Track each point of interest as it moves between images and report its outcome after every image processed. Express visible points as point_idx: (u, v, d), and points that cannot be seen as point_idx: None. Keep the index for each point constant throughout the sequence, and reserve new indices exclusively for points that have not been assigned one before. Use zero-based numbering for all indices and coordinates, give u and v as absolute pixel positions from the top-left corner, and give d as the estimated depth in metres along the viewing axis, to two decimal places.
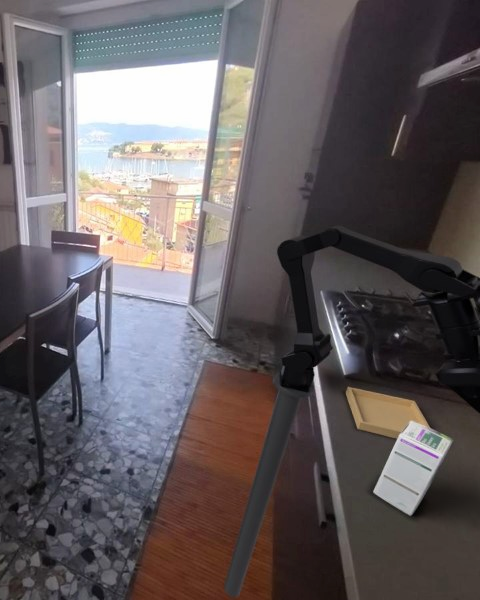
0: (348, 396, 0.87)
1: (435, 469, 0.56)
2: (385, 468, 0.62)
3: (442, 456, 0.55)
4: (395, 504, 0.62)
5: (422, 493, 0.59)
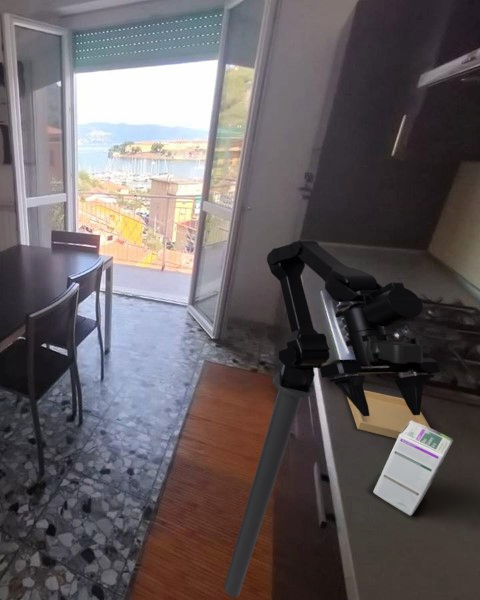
0: None
1: (435, 469, 0.56)
2: (385, 468, 0.62)
3: (442, 456, 0.55)
4: (395, 504, 0.62)
5: (422, 493, 0.59)
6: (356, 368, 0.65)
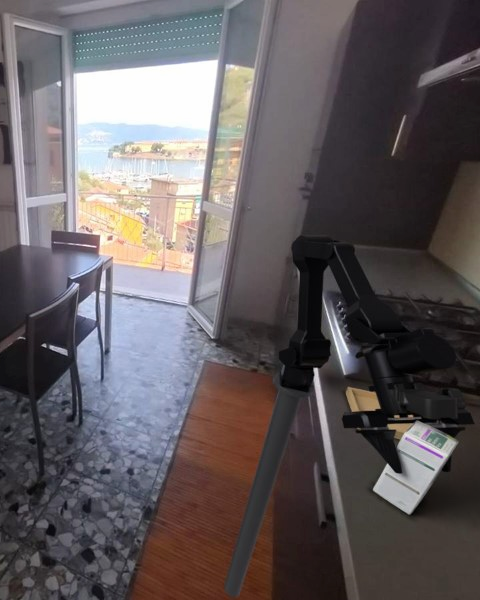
0: (348, 396, 0.87)
1: (438, 469, 0.56)
2: (387, 466, 0.62)
3: (447, 456, 0.55)
4: (394, 502, 0.62)
5: (423, 492, 0.58)
6: (383, 421, 0.59)
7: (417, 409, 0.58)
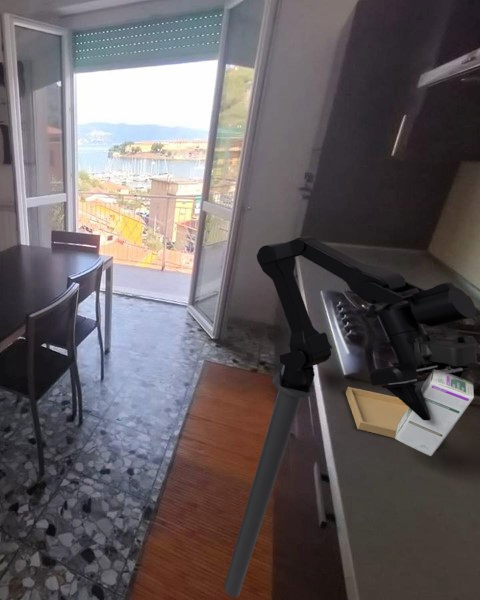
0: (348, 396, 0.87)
1: (463, 411, 0.61)
2: (411, 414, 0.66)
3: (472, 398, 0.59)
4: (417, 447, 0.67)
5: (446, 434, 0.63)
6: (413, 373, 0.63)
7: (443, 358, 0.61)
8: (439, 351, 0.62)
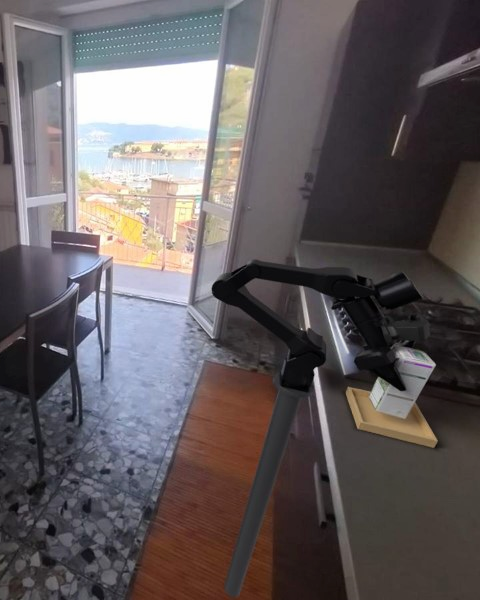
0: (348, 396, 0.87)
1: (428, 377, 0.73)
2: (388, 388, 0.76)
3: (435, 365, 0.72)
4: (394, 414, 0.78)
5: (416, 398, 0.75)
6: (392, 354, 0.72)
7: (409, 337, 0.72)
8: (405, 331, 0.73)
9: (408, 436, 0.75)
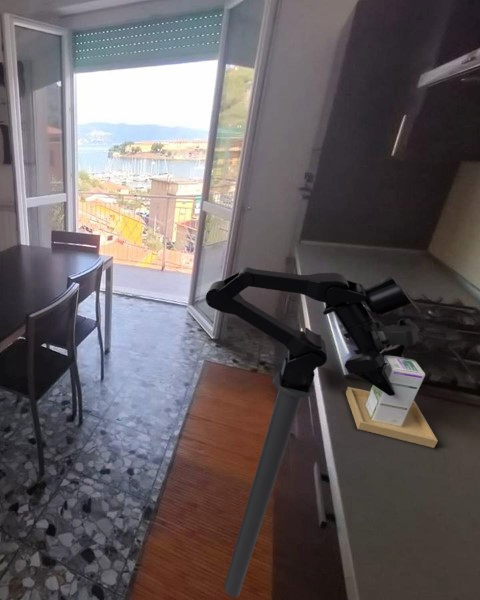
0: (348, 396, 0.87)
1: (419, 386, 0.74)
2: (381, 398, 0.77)
3: (424, 375, 0.72)
4: (389, 422, 0.79)
5: (409, 407, 0.76)
6: (381, 358, 0.74)
7: (398, 341, 0.74)
8: (394, 336, 0.74)
9: (408, 436, 0.75)
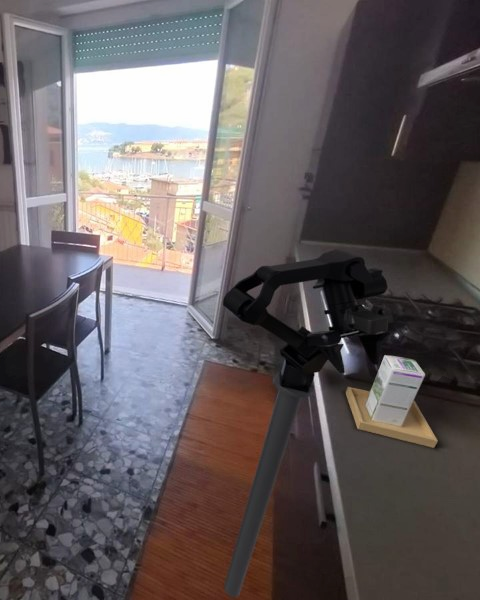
0: (348, 396, 0.87)
1: (419, 386, 0.74)
2: (381, 398, 0.77)
3: (424, 375, 0.72)
4: (389, 422, 0.79)
5: (409, 407, 0.76)
6: (337, 339, 0.79)
7: (361, 327, 0.77)
8: (360, 322, 0.77)
9: (408, 436, 0.75)
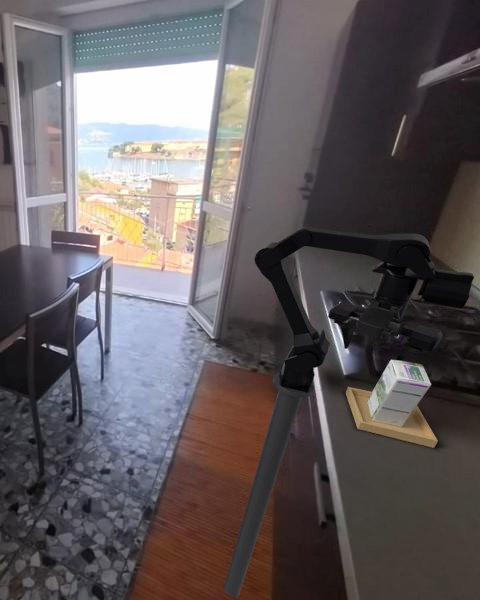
0: (348, 396, 0.87)
1: (423, 394, 0.72)
2: (383, 402, 0.76)
3: (430, 385, 0.70)
4: (389, 423, 0.79)
5: (411, 411, 0.75)
6: (342, 318, 0.81)
7: None
8: None
9: (408, 436, 0.75)
